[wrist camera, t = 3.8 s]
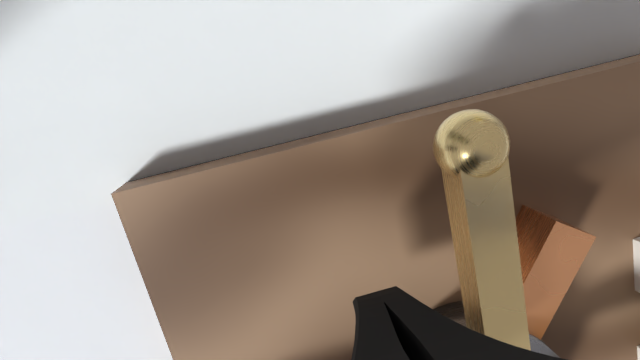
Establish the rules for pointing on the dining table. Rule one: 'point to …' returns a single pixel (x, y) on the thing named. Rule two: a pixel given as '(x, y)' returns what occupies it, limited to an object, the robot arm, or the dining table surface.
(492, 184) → the capstan
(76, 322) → the dining table surface
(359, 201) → the stand board
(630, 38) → the dining table surface
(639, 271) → the frame
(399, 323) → the robot arm
